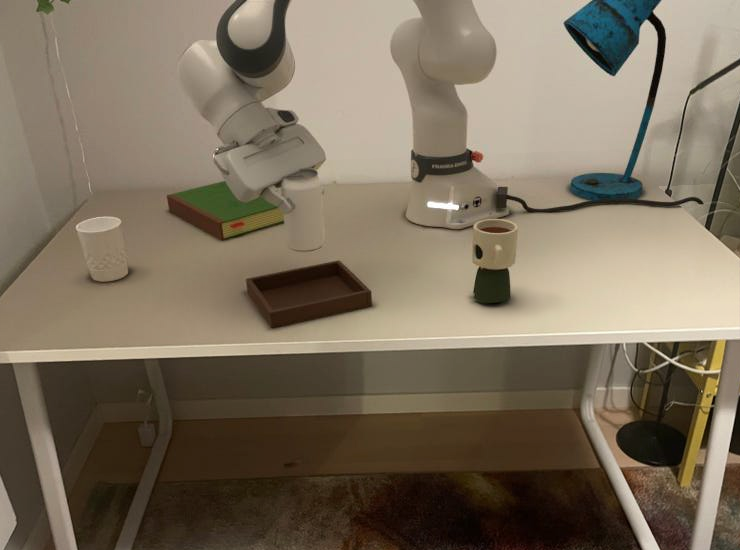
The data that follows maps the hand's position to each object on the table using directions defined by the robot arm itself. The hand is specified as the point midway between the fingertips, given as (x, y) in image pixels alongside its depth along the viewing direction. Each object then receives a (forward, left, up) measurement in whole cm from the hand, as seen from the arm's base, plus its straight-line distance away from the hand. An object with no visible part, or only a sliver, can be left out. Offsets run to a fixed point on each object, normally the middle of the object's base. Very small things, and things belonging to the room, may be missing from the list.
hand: (305, 203), depth 120 cm
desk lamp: (-78, -24, -17) cm, 83 cm away
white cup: (+31, -28, -17) cm, 45 cm away
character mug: (-27, +13, -17) cm, 35 cm away
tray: (+1, -1, -17) cm, 17 cm away
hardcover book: (+2, -49, -17) cm, 52 cm away
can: (0, -1, -7) cm, 7 cm away
